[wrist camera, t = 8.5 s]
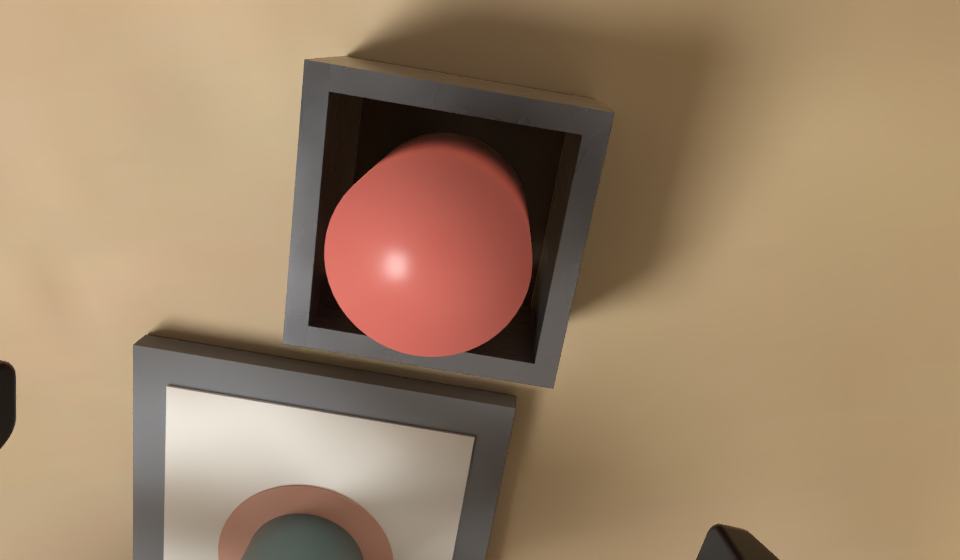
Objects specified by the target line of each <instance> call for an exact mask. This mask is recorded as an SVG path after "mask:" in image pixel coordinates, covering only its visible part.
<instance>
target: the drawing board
mask: <svg viewBox="0 0 960 560" xmlns="http://www.w3.org/2000/svg"><path fill="white" fill-rule="evenodd" d="M515 410H516V396H512V395H506V394H500V393H494V392H488V391H482V390H476V389H470V388H464V387H458V386H452V385H446V384H440V383H434V382H428V381H422V380H416V379H410V378H404V377H398V376H392V375H386V374H380V373H374V372H368V371H362V370H356V369H350V368H344V367H338V366H332V365H326V364H320V363H314V362H308V361H302V360H296V359H290V358H284V357H278V356H272V355H266V354H260V353H254V352H248V351H242V350H236V349H230V348H224V347H218V346H212V345H206V344H200V343H194V342H188V341H182V340H176V339H170V338H164V337H158V336H152V335H145V336H144V337H142V338H141V339H140V340H139V341H137V342H136V343H135V344H134V345H133V560H241V558H242V557H243V555H244V553H245V551H246V549H247V547H248V545H249V543H250V541H251V539H252V537H253V535H254V534H255V533H256V531H257V530H258V529H259V528H260V527H261V526H262V525H264V524H265V523H267V522H268V521H270V520H272V519H274V518H277V517H279V516H283V515H287V514H311V515H316V516H320V517H323V518H326V519H328V520H330V521H332V522H334V523H336V524H338V525H339V526H341V527H342V528H343V529H345V530H346V531H347V532H348V533H349V534H350V535H351V536H352V537H353V539H354V540H355V541H356V543H357V544H358V546H359V548H360V550H361V552H362V555H363V559H364V560H485V557H486V552H487V547H488V543H489V538H490V533H491V528H492V523H493V518H494V513H495V508H496V503H497V498H498V494H499V489H500V484H501V479H502V474H503V469H504V464H505V459H506V454H507V449H508V444H509V440H510V435H511V430H512V425H513V420H514V415H515Z"/></svg>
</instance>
